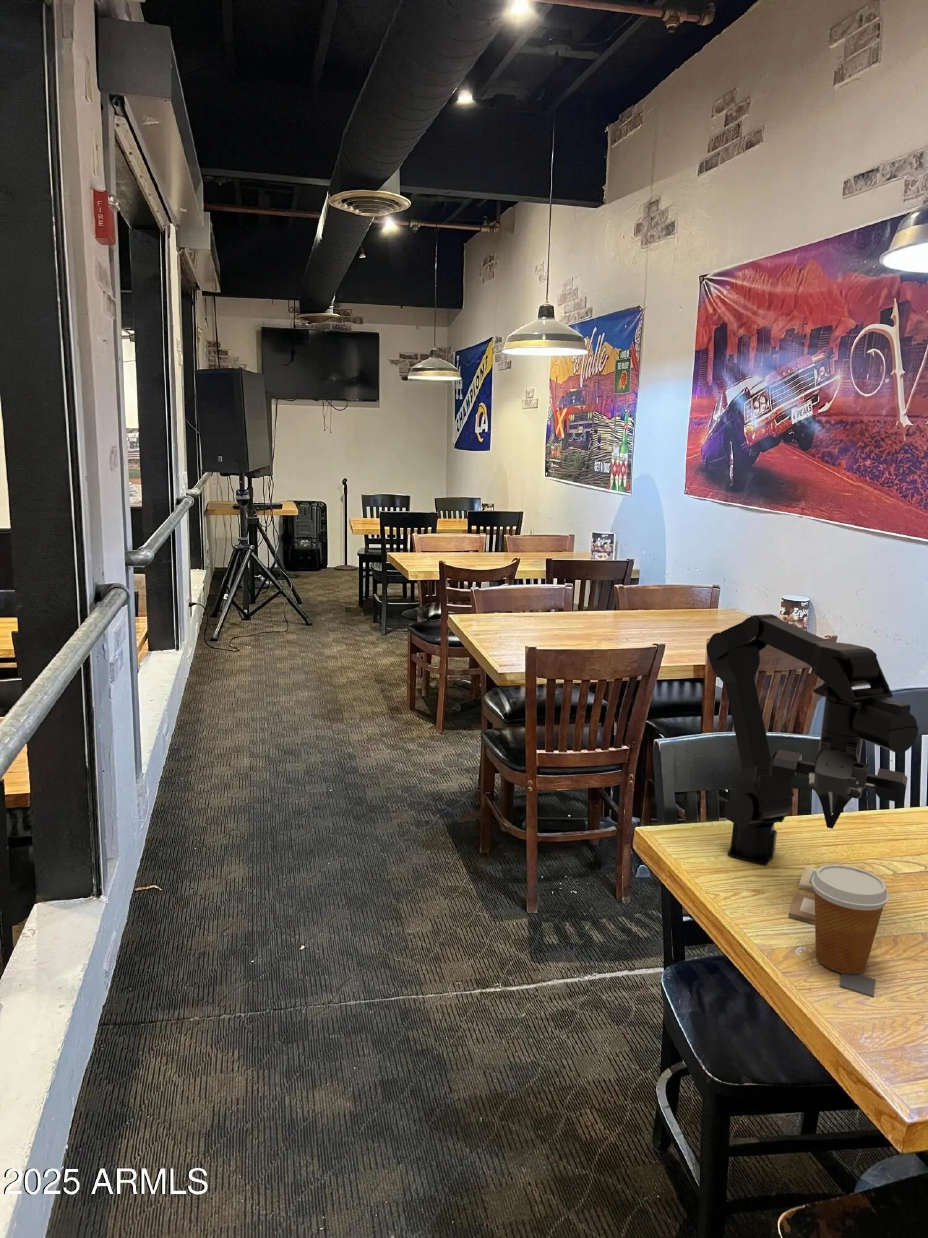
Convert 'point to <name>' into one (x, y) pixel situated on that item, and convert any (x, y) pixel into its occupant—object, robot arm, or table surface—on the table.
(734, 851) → the robot arm
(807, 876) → the birch marker tile
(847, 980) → the black coaster
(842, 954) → the disposable coffee cup
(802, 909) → the walnut marker tile
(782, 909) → the table surface
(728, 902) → the table surface
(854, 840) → the table surface
